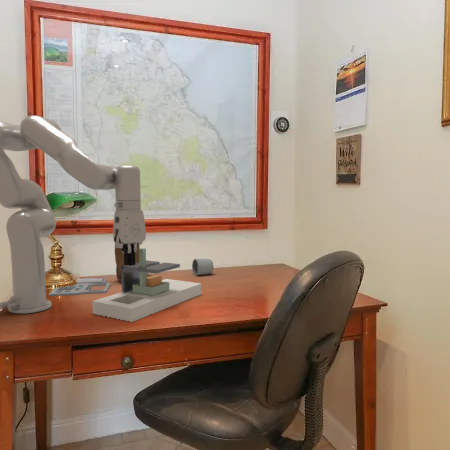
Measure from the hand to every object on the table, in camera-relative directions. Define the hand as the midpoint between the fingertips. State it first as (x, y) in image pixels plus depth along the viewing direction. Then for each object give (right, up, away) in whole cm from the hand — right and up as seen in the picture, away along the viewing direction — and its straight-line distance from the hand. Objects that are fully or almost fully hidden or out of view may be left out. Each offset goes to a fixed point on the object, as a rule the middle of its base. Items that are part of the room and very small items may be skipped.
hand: (129, 264), depth 128 cm
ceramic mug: (+19, -10, +57) cm, 61 cm away
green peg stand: (+5, -10, +9) cm, 14 cm away
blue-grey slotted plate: (-26, -13, +32) cm, 43 cm away
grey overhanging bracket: (+5, -10, +9) cm, 14 cm away
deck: (+5, -14, +10) cm, 18 cm away
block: (-11, -11, +42) cm, 45 cm away
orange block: (+5, -10, +9) cm, 14 cm away
